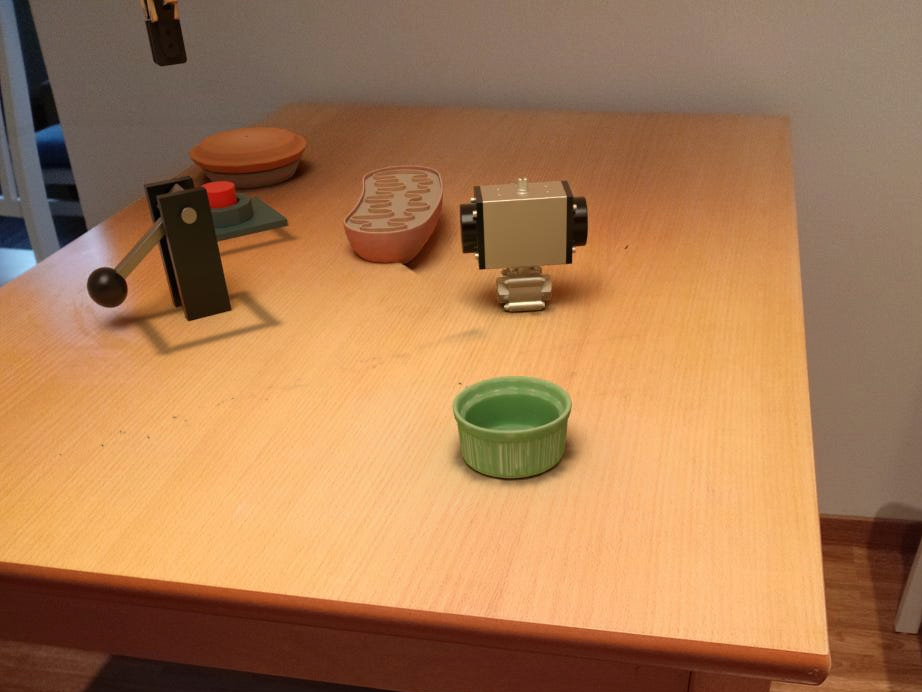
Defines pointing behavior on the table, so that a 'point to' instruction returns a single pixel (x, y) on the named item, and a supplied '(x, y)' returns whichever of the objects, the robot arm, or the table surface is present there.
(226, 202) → the button
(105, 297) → the lever
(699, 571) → the table surface
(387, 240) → the anatomical model
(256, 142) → the pie
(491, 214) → the pneumatic valve
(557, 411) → the ramekin
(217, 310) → the bracket
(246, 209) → the button box
